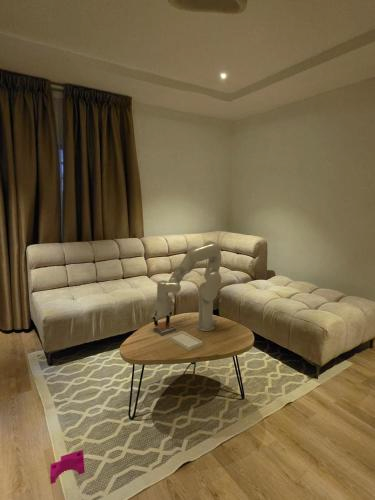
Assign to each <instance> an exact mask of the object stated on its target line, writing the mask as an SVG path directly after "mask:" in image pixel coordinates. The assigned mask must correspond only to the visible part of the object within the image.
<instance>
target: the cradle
mask: <svg viewBox="0 0 375 500" xmlns="http://www.w3.org/2000/svg"><path fill="white" fill-rule="evenodd" d="M168 340H170V341H171V342H173V343H175V344H176V345H178V346H180V347H181V348H183V349H185V350H187V351H188V352H189V351H192V350H194V349H197V348H200V347H201V346H203V343H204V342H203V341H202V340H200V339H198V338H196V336H195V337H194V336H193V335H192V334H189V333H188V332H186V331H184V330H182V331H179V332H175V333H173V334H170V335H168Z"/></svg>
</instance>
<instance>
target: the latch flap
mask: <svg viewBox="0 0 375 500" xmlns="http://www.w3.org/2000/svg"><path fill="white" fill-rule="evenodd" d="M174 327H176V326H175V325H174V324H173V323H172V322H170V323H168V322H166V320H164V321H162V322H158V326H155V325H154V328H157V329H158V330H159V331H161V332H162V331H165V330H168V329H171V328H174Z"/></svg>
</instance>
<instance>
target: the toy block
mask: <svg viewBox="0 0 375 500" xmlns="http://www.w3.org/2000/svg"><path fill="white" fill-rule="evenodd" d="M84 456H85V455H84V449H80V450H78V451H75V452H71V453H67V454H64V455H61V456H60V461H56V462H53V463H50V468H49V469H50V470H49V472H50V473H49V474H50V475H49V476H50V477H49V479H50V480H49V481H50V485H52V484H56V481H57V479H58V478H59V477H60V476H61V474H64V471H65V472H67V471H75V472H77V474H78V475H83V474H85V473H86V472H85V471H86V470H85V469H86V468H85V457H84Z"/></svg>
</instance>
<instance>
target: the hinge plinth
mask: <svg viewBox="0 0 375 500" xmlns="http://www.w3.org/2000/svg"><path fill="white" fill-rule="evenodd" d="M153 331H154V332H155V333H157V334H158V335H159V336H161V337H163V336H165V335H168V334H171V333H174V332H176V331H177V326H175V327H174V328H171V329H168V330H165V331H162V332H161V331H159V330H158V329H157V328H156V327H154V328H153Z"/></svg>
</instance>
